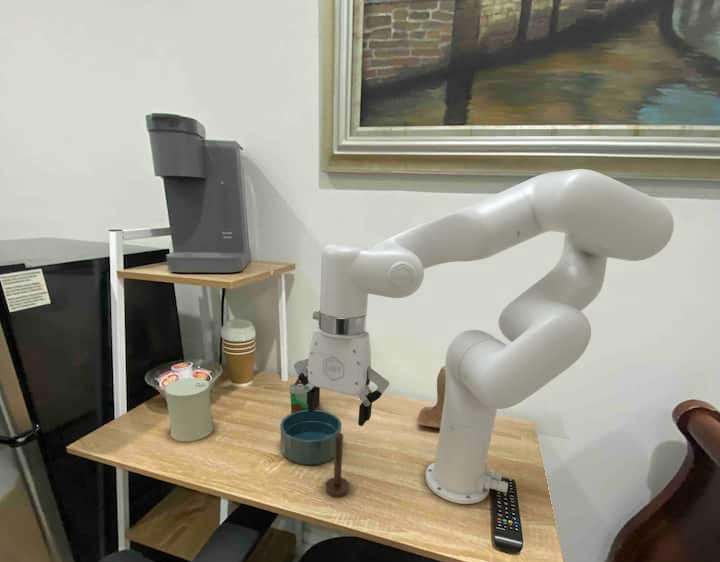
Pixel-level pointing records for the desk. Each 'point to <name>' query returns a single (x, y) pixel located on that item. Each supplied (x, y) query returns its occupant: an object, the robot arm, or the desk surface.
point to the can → (189, 409)
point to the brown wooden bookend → (434, 414)
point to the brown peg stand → (337, 472)
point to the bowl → (309, 436)
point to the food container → (298, 396)
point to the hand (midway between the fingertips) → (337, 415)
